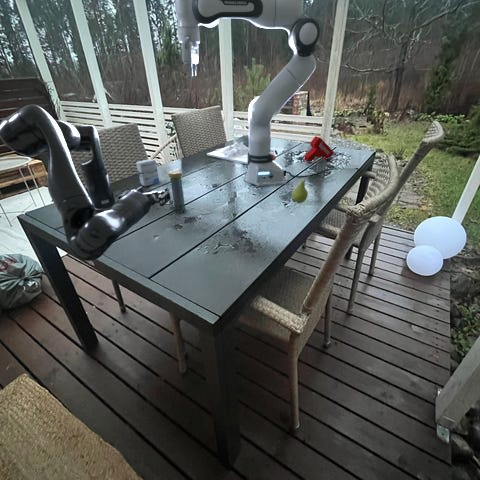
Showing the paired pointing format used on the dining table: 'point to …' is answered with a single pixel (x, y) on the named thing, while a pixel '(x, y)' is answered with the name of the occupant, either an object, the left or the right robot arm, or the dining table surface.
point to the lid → (175, 173)
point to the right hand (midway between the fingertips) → (192, 76)
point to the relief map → (232, 153)
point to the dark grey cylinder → (178, 195)
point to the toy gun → (318, 150)
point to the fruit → (300, 192)
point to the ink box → (147, 172)
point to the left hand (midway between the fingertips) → (154, 189)
